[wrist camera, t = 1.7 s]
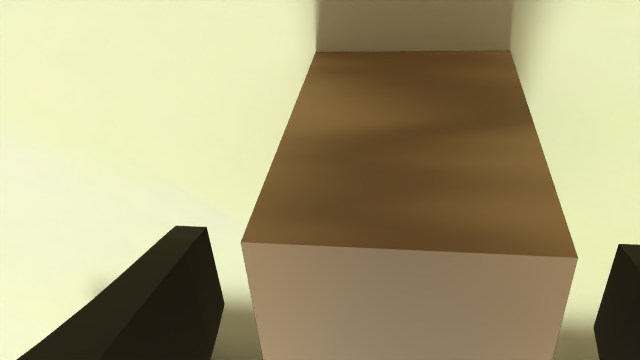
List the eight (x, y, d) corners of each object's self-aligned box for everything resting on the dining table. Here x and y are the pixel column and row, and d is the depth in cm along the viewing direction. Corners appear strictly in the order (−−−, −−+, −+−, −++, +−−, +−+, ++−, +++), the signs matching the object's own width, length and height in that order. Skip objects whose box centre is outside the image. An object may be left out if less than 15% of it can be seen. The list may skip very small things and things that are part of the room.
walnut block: (509, 50, 13) (577, 258, 7) (489, 207, 16) (528, 451, 10) (315, 51, 14) (240, 242, 8) (326, 201, 16) (275, 426, 11)
